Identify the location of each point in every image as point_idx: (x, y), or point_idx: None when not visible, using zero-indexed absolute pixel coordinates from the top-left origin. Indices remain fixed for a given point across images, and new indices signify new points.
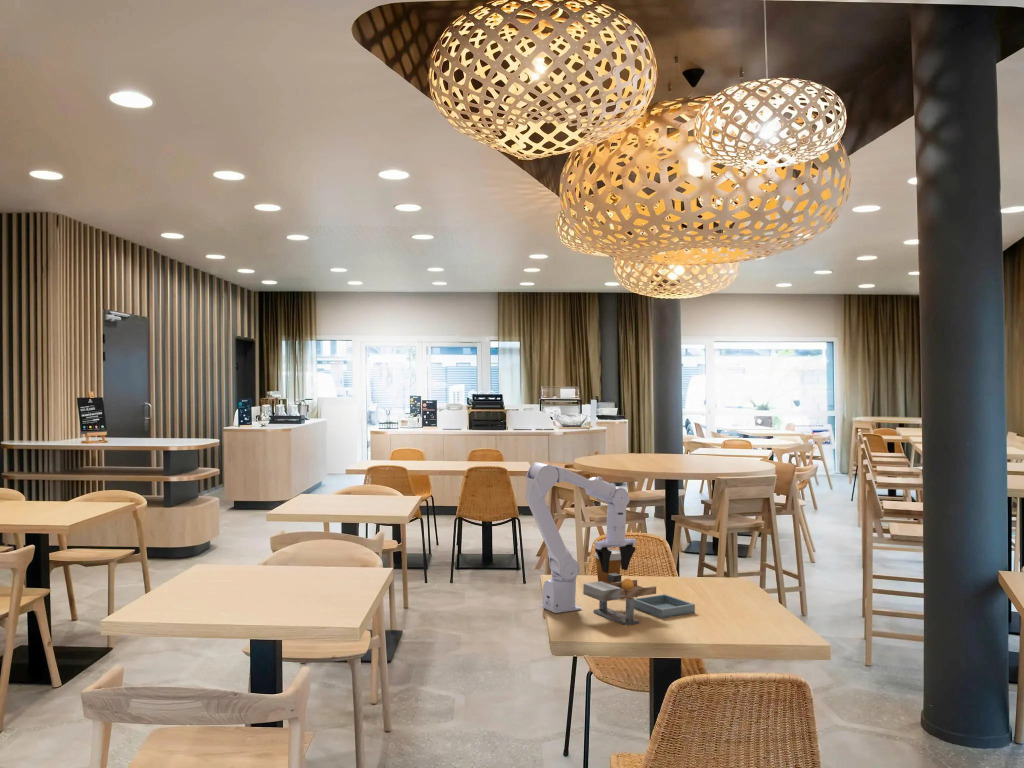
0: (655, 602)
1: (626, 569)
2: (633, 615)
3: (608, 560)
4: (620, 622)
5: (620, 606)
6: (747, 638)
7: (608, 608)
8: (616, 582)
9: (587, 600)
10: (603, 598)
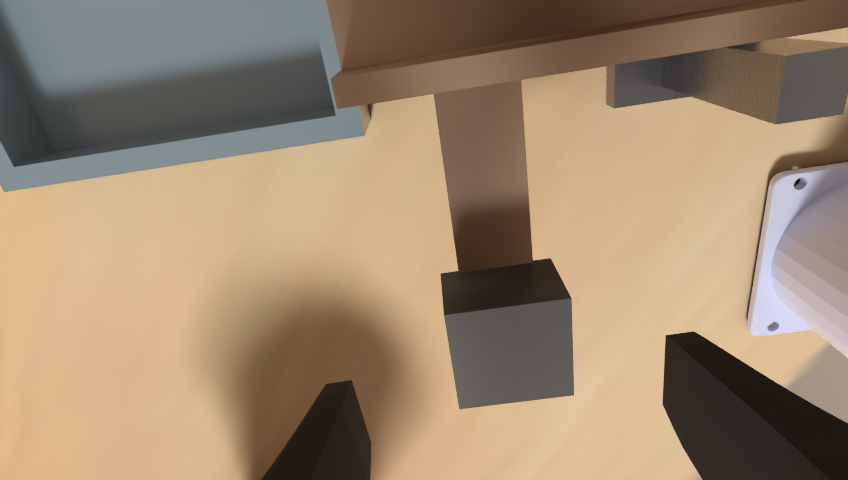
0: (143, 137)
1: (341, 387)
2: None
3: (839, 456)
4: None
5: (444, 170)
6: None
7: (620, 81)
8: (713, 43)
9: (573, 350)
10: None
